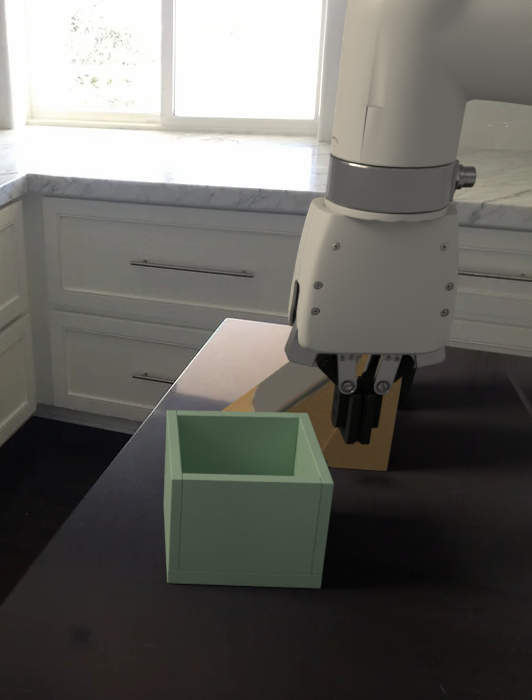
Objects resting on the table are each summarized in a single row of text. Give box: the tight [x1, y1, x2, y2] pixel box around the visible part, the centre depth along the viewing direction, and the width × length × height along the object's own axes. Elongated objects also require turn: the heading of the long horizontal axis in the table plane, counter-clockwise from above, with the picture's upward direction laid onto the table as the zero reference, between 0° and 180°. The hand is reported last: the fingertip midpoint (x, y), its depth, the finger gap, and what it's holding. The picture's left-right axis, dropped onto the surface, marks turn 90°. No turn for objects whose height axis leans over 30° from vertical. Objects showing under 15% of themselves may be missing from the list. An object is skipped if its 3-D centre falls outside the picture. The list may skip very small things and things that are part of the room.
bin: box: [163, 409, 335, 589], centre depth 65 cm, size 9×10×11 cm
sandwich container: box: [221, 354, 402, 472], centre depth 78 cm, size 9×15×15 cm, turn 78°
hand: (352, 434), depth 63 cm, fingers closed
